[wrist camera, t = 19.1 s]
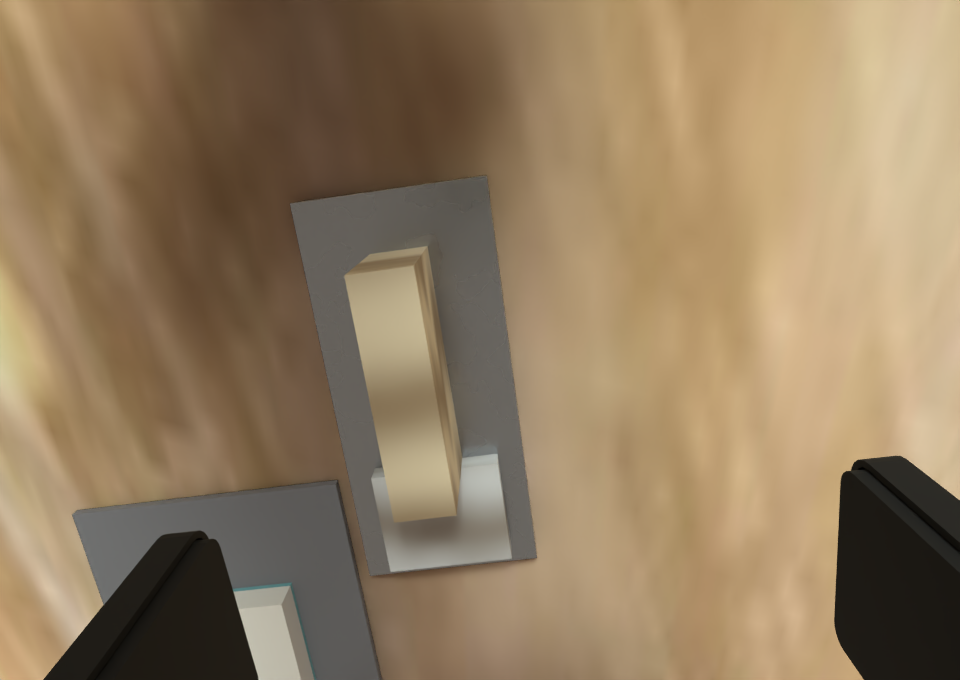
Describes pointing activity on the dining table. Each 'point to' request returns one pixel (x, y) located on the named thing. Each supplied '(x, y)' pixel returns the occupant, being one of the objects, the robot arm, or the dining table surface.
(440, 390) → the tan bar with plate
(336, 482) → the mat
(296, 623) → the tile
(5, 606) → the dining table surface
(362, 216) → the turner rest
